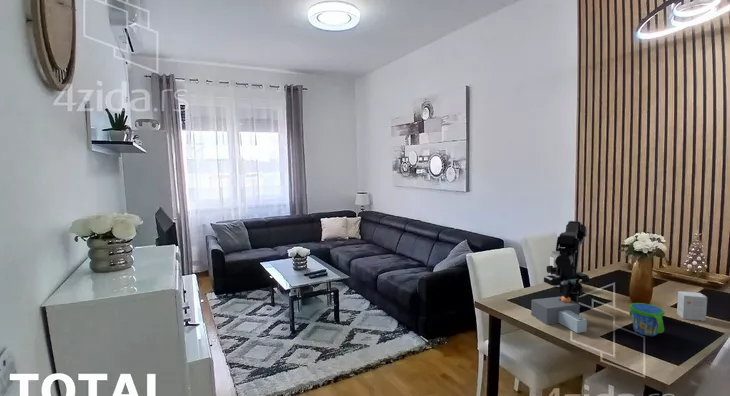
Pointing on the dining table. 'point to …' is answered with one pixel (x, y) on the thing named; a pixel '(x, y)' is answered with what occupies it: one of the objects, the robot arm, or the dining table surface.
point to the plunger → (565, 299)
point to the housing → (551, 309)
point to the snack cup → (647, 319)
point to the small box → (692, 306)
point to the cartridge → (572, 321)
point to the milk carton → (552, 262)
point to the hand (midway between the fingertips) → (565, 297)
